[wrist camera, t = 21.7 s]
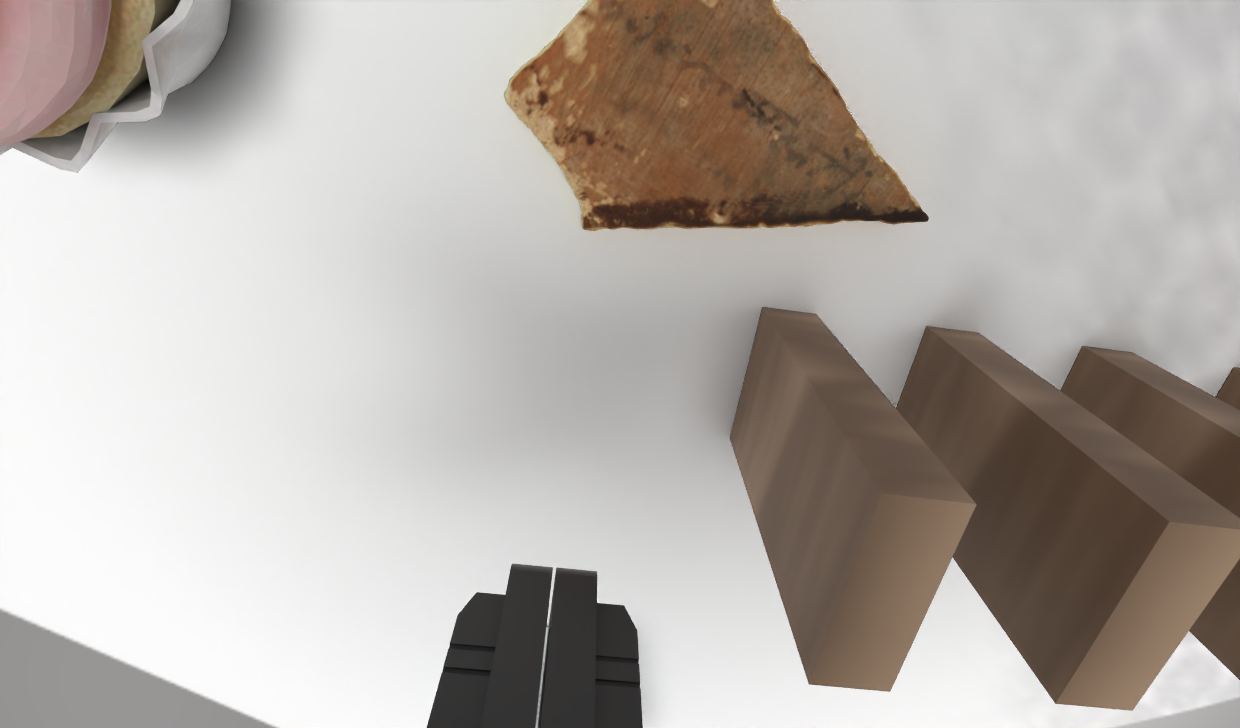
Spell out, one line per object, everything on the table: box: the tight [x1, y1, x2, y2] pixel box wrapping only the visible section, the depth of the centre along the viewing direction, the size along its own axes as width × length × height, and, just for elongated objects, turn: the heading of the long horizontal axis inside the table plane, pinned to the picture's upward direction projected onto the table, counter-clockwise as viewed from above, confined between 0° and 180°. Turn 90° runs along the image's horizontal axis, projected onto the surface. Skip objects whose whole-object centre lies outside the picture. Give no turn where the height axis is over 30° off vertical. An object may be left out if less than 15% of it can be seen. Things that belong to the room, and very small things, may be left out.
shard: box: [504, 0, 929, 231], centre depth 18 cm, size 11×8×2 cm
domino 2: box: [896, 326, 1240, 710], centre depth 17 cm, size 2×5×10 cm, turn 172°
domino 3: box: [1061, 346, 1240, 680], centre depth 18 cm, size 2×5×10 cm, turn 172°
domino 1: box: [730, 307, 977, 692], centre depth 17 cm, size 2×5×10 cm, turn 172°
